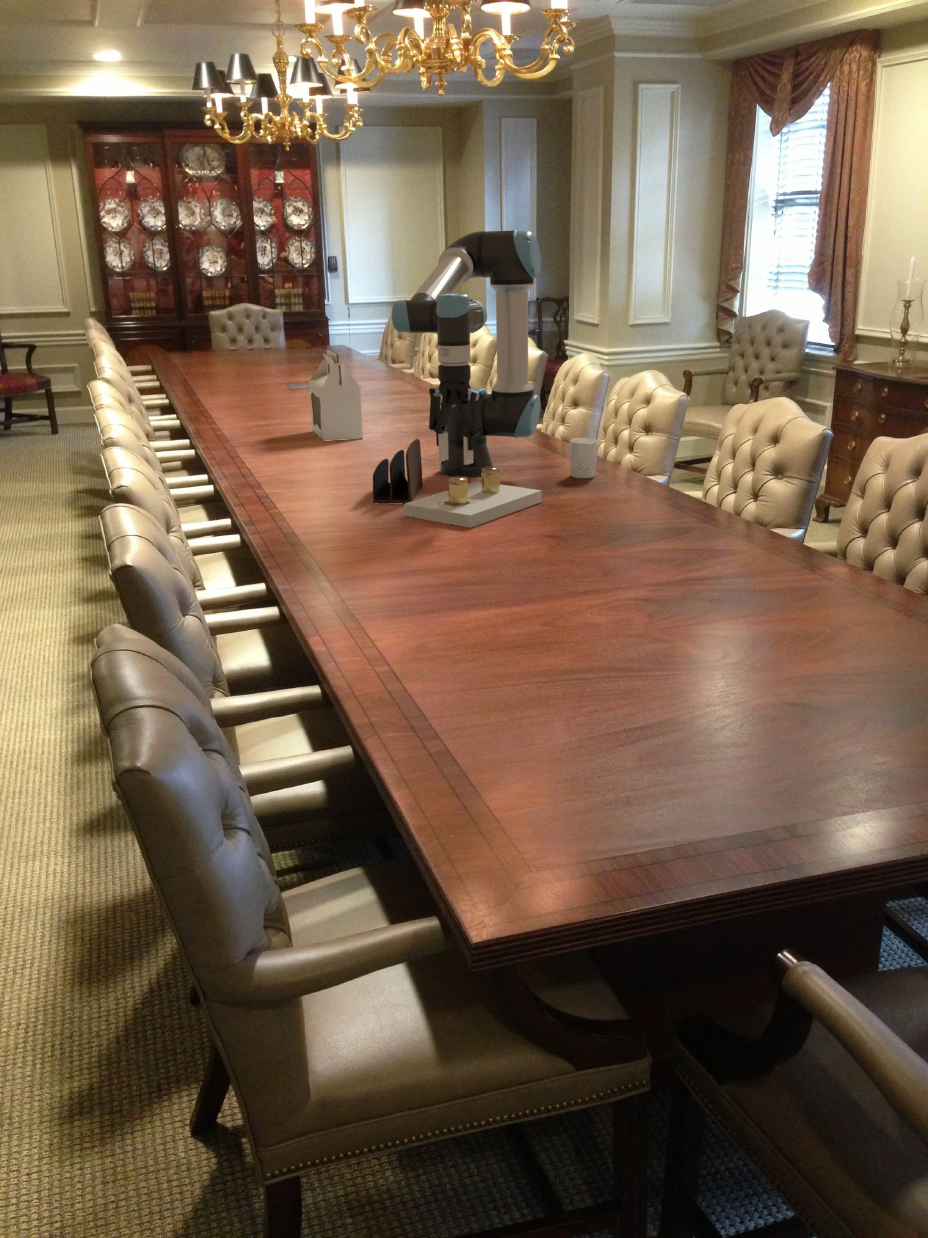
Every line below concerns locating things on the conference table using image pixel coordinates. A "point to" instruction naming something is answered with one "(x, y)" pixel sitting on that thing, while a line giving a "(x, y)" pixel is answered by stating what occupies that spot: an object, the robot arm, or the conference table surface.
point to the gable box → (335, 401)
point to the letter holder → (399, 477)
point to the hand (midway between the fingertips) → (456, 461)
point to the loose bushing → (458, 491)
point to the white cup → (583, 457)
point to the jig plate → (473, 505)
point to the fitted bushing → (490, 479)
